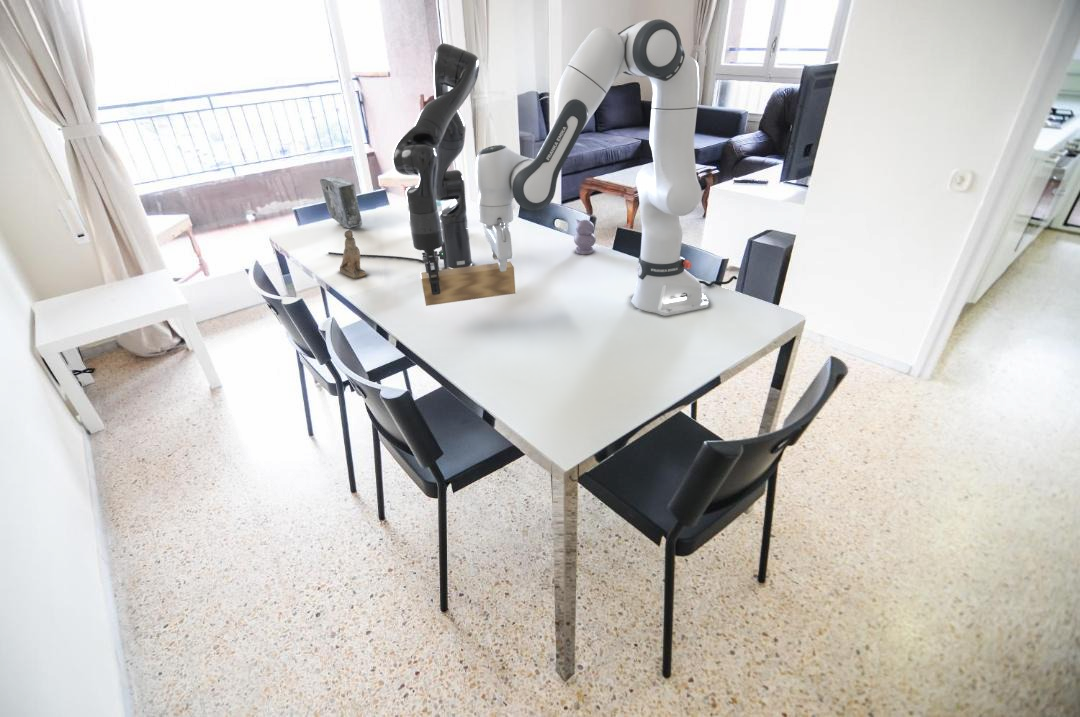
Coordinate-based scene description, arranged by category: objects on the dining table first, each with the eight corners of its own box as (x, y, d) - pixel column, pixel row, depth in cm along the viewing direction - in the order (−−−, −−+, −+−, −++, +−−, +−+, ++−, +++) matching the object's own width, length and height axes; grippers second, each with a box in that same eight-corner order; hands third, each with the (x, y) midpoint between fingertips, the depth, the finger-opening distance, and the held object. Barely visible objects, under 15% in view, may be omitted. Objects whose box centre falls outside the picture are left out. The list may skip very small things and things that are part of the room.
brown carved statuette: (368, 281, 178) (362, 235, 166) (353, 285, 175) (347, 238, 163) (352, 266, 184) (346, 221, 172) (338, 270, 181) (331, 224, 169)
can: (445, 229, 220) (441, 202, 214) (429, 230, 220) (425, 202, 214) (447, 224, 226) (444, 198, 220) (432, 225, 226) (428, 198, 220)
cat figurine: (599, 250, 190) (600, 219, 183) (587, 256, 185) (587, 224, 178) (582, 246, 195) (582, 215, 188) (569, 251, 190) (569, 220, 184)
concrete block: (367, 229, 224) (357, 183, 213) (347, 233, 220) (336, 187, 209) (348, 217, 243) (338, 174, 232) (330, 221, 238) (318, 177, 228)
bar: (426, 306, 134) (421, 278, 130) (424, 299, 138) (420, 272, 134) (515, 293, 139) (513, 266, 135) (512, 287, 143) (510, 261, 139)
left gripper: (443, 235, 121) (452, 299, 130) (438, 219, 133) (446, 279, 142) (412, 238, 119) (423, 303, 128) (409, 222, 131) (420, 282, 140)
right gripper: (516, 223, 121) (519, 276, 128) (500, 203, 138) (503, 251, 145) (491, 226, 119) (495, 279, 127) (478, 205, 136) (482, 253, 143)
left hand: (435, 290), depth 135 cm, fingers closed on bar, 4 cm apart
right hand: (499, 264), depth 136 cm, fingers open, 8 cm apart
